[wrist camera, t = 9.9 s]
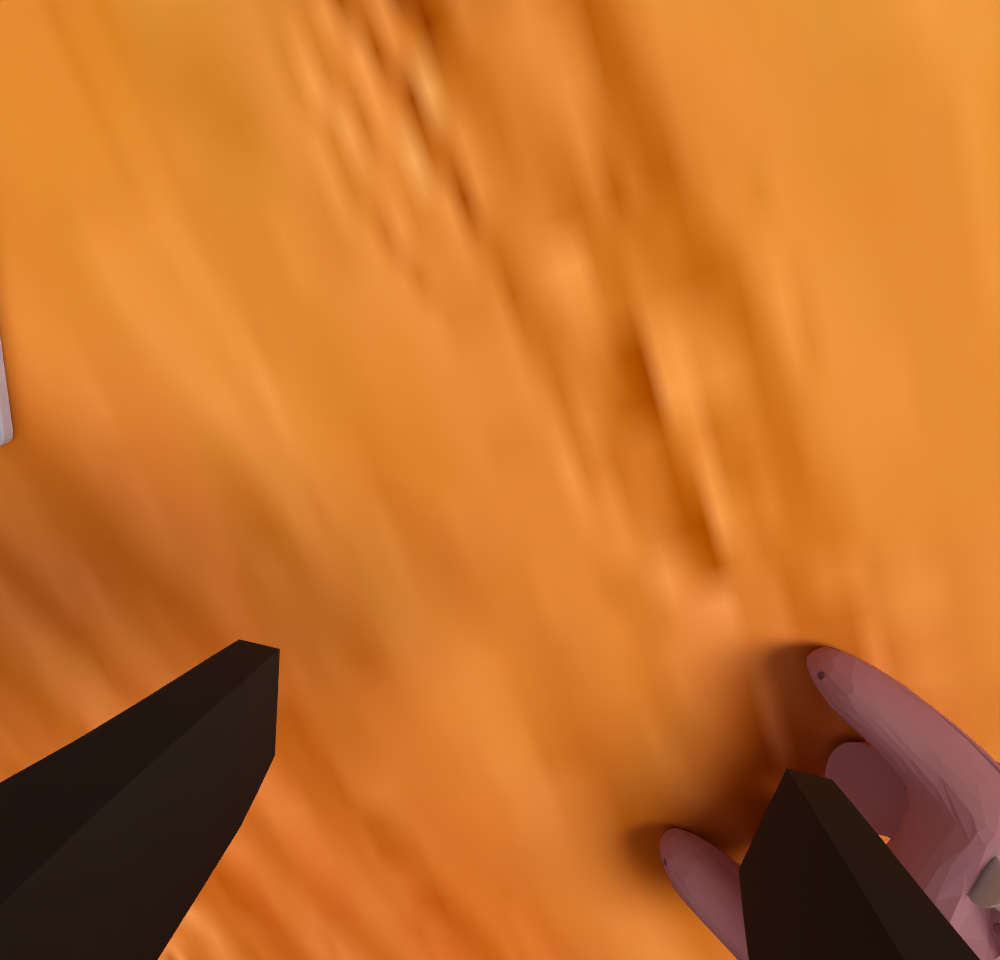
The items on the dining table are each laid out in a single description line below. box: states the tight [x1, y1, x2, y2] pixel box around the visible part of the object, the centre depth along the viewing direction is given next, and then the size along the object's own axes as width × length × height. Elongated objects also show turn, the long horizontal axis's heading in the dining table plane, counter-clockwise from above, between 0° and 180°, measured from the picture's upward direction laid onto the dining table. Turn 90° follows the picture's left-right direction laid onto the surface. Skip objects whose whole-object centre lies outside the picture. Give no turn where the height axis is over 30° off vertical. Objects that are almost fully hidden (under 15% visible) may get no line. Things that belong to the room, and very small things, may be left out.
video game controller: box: [659, 647, 1000, 960], centre depth 18 cm, size 10×5×7 cm, turn 157°
